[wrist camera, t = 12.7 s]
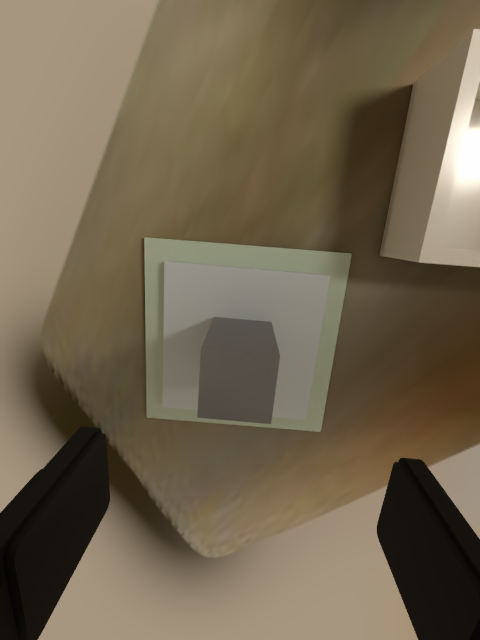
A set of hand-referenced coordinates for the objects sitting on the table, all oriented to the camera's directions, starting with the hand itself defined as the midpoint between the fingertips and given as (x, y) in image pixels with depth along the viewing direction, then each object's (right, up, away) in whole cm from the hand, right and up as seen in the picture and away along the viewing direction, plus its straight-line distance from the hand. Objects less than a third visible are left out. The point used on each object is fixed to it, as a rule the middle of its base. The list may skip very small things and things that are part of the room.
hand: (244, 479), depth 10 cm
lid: (0, +4, +12) cm, 13 cm away
